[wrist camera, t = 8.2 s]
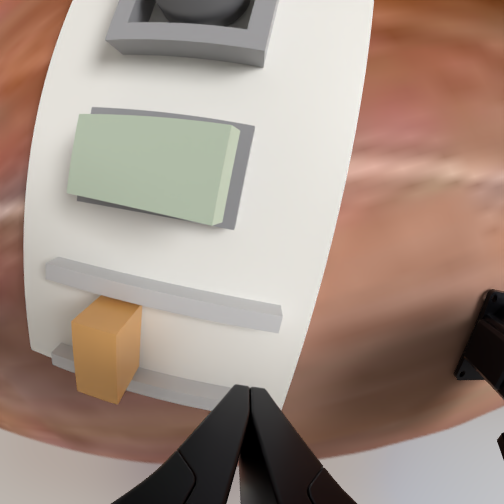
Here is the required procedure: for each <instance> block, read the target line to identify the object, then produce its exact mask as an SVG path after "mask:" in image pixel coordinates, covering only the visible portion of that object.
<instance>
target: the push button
mask: <svg viewBox="0 0 504 504" xmlns="http://www.w3.org/2000/svg"><path fill="white" fill-rule="evenodd" d="M155 1H156V3H157V4H158V6H159V8H160V9H161V11H162V12H163V14H164V16H165V17H166V19H167V20H168V21H169V22H170V23H189V24H203V25H214V26H224V27H226V26H228V25H230V24H231V23H233V22H235V21H236V20H237V19H238V18H240V17H241V16H242V15H243V14H244V12H245V11H246V10H247V8H248V6H249V3H250V0H155Z"/></svg>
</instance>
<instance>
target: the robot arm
mask: <svg viewBox="0 0 504 504" xmlns="http://www.w3.org/2000/svg"><path fill="white" fill-rule="evenodd" d="M493 296H494V297H493ZM492 298H493V299H492ZM454 376H455V377H456V379H457V380H486V381H487V382H488V383H489V384H490V385H491V386H492V388H493V389H494V390H495V391H496V392H497V393H498V394H499V395H500V396H501V397H502V398H503V399H504V292H503V291H499V290H495V289H492V290H490V291H489V292H488V294H487V296H486V298H485V301H484V304H483V307H482V309H481V312H480V315H479V317H478V320H477V322H476V325H475V327H474V330H473V332H472V334H471V337H470V339H469V341H468V344H467V346H466V348H465V350H464V353H463V355H462V357H461V359H460V361H459V363H458V365H457V367H456V369H455V372H454ZM497 442H498V445H499V448H500V451H501V453H502V456H503V459H504V433H502V434H501V435H500V437H499V438H498V439H497ZM238 460H239V475H240V500H241V504H357V503H356V502H355V501H354V500H353V499H352V498H351V497H350V496H349V495H348V494H347V493H346V492H345V491H344V490H343V489H342V488H341V487H340V486H339V484H337V482H336V481H335V480H334V479H333V478H332V476H331V475H330V474H329V473H328V471H327V470H326V469H325V468H323V465H322V464H321V463H320V461H319V460H318V459H317V458H316V456H315V455H314V454H313V452H312V451H311V450H310V449H309V447H308V446H307V445H306V443H305V442H304V441H303V439H302V438H301V437H300V435H299V434H298V433H297V431H296V430H295V429H294V427H293V426H292V425H291V423H290V422H289V421H288V419H287V418H286V417H285V415H284V414H283V412H282V411H281V410H280V408H279V407H278V406H277V404H276V403H275V401H274V400H273V399H272V397H271V396H270V394H269V393H268V392H267V390H266V389H265V388H259V387H250V388H249V386H245V385H239V384H235V385H234V386H233V387H232V388H231V389H230V390H229V391H228V393H227V394H226V395H225V396H224V397H223V398H222V400H221V401H220V402H219V403H218V404H217V405H216V407H215V408H214V409H213V410H212V411H211V412H210V413H209V415H208V416H207V417H206V418H205V419H204V420H203V421H202V423H201V424H200V425H199V426H198V427H197V428H196V429H195V430H194V432H193V433H192V434H191V435H190V436H189V437H188V438H187V439H186V440H185V441H184V443H183V444H182V445H181V446H180V447H179V448H178V449H177V451H175V452H174V453H173V454H172V455H171V456H170V457H169V459H168V460H167V461H166V462H165V463H163V464H162V465H161V466H160V467H159V468H158V469H157V470H156V471H155V472H154V473H153V474H151V475H150V476H149V477H148V478H146V479H145V480H144V481H143V482H141V483H140V484H139V485H137V486H136V487H134V488H133V489H132V490H130V491H129V492H127V493H126V494H125V495H123V496H121V497H120V498H119V499H117V500H116V501H114V502H113V503H111V504H226V503H227V499H228V496H229V492H230V489H231V485H232V482H233V478H234V474H235V470H236V467H237V463H238Z"/></svg>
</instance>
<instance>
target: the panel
mask: <svg viewBox="0 0 504 504" xmlns="http://www.w3.org/2000/svg"><path fill="white" fill-rule="evenodd" d="M373 5H374V0H250V3H249V6H248V8H247V10H246V11H245V12H244V14H243V15H242V16H241V17H240V18H238V19H237V20H236V21H235V22H233V23H231V24H230V25H228V26H226V27H224V26H214V25H203V24H189V23H170V22H169V21H168V20H167V19H166V17H165V16H164V14H163V12H162V11H161V9H160V8H159V6H158V4H157V3H156V1H155V0H73V1H72V4H71V6H70V8H69V11H68V13H67V16H66V18H65V21H64V24H63V26H62V29H61V32H60V34H59V37H58V40H57V43H56V46H55V49H54V52H53V55H52V59H51V62H50V65H49V69H48V72H47V76H46V79H45V83H44V87H43V91H42V95H41V99H40V104H39V108H38V113H37V118H36V123H35V128H34V134H33V139H32V146H31V152H30V159H29V167H28V176H27V186H26V197H25V213H24V284H25V300H26V312H27V321H28V330H29V338H30V345H31V350H34V351H36V352H38V353H41V354H43V355H46V356H48V357H51V358H52V364H53V365H55V366H57V367H60V368H62V369H65V370H67V371H70V372H73V373H75V367H74V357H73V344H72V329H71V321H72V320H73V319H74V318H75V317H76V316H78V315H79V314H80V313H81V312H82V311H83V310H84V309H86V308H87V307H88V306H89V305H90V304H91V303H93V302H94V301H95V300H96V299H97V298H98V297H100V296H101V295H103V296H106V297H110V298H114V299H118V300H122V301H126V302H130V303H134V304H138V305H142V319H141V336H140V359H139V367H138V369H137V371H136V373H135V375H134V376H133V378H132V380H131V382H130V384H129V385H128V387H127V389H126V390H127V391H130V392H134V393H137V394H141V395H145V396H148V397H152V398H156V399H160V400H164V401H168V402H172V403H176V404H181V405H185V406H190V407H194V408H199V409H204V410H209V411H212V410H213V409H214V408H215V407H216V405H217V404H218V403H219V402H220V401H221V400H222V398H223V397H224V396H225V395H226V394H227V393H228V391H229V390H230V389H231V388H232V387H233V386H234V385H235V384H239V385H245V386H249V388H250V387H259V388H265V389H266V390H267V392H268V393H269V394H270V396H271V397H272V399H273V400H274V401H275V403H276V404H277V406H278V407H279V408H280V410H282V407H283V404H284V401H285V398H286V395H287V392H288V389H289V386H290V384H291V381H292V377H293V374H294V371H295V368H296V365H297V362H298V359H299V356H300V353H301V350H302V346H303V343H304V340H305V337H306V333H307V330H308V327H309V323H310V320H311V316H312V313H313V310H314V306H315V303H316V299H317V295H318V292H319V288H320V285H321V281H322V277H323V274H324V270H325V266H326V262H327V258H328V254H329V251H330V247H331V243H332V239H333V234H334V230H335V226H336V222H337V218H338V213H339V209H340V205H341V200H342V196H343V191H344V187H345V182H346V177H347V173H348V168H349V163H350V158H351V153H352V148H353V143H354V137H355V132H356V126H357V121H358V115H359V109H360V103H361V97H362V91H363V85H364V78H365V71H366V64H367V57H368V49H369V41H370V33H371V24H372V15H373ZM79 114H114V115H136V116H152V117H165V118H176V119H186V120H196V121H205V122H213V123H221V124H228V125H232V126H234V127H236V128H237V129H239V130H240V135H239V140H238V145H237V150H236V155H235V160H234V164H233V169H232V175H231V180H230V185H229V190H228V195H227V200H226V205H225V211H224V216H223V221H222V223H219V224H216V225H213V226H211V225H207V224H202V223H198V222H194V221H189V220H185V219H181V218H176V217H172V216H168V215H163V214H159V213H154V212H150V211H146V210H141V209H137V208H132V207H128V206H123V205H119V204H114V203H110V202H105V201H101V200H96V199H92V198H87V197H83V196H78V195H73V194H69V193H67V185H68V177H69V169H70V162H71V156H72V150H73V144H74V138H75V133H76V127H77V122H78V118H79Z"/></svg>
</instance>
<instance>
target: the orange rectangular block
mask: <svg viewBox="0 0 504 504" xmlns="http://www.w3.org/2000/svg"><path fill="white" fill-rule="evenodd" d="M141 319H142V305H138V304H134V303H130V302H126V301H122V300H118V299H114V298H110V297H106V296H103V295H101V296H100V297H98V298H97V299H96V300H95V301H94V302H93V303H91V304H90V305H89V306H88V307H87V308H86V309H84V310H83V311H82V312H81V313H80V314H79V315H78V316H76V317H75V318H74V319H73V320H72V321H71V329H72V344H73V357H74V367H75V376H76V384H77V391H79V392H81V393H84V394H87V395H90V396H93V397H95V398H98V399H101V400H104V401H107V402H110V403H114V404H117V405H118V403H119V402H120V400H121V398H122V396H123V394H124V393H125V391H126V389H127V387H128V385H129V384H130V382H131V380H132V378H133V376H134V375H135V373H136V371H137V369H138V367H139V359H140V336H141Z"/></svg>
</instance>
